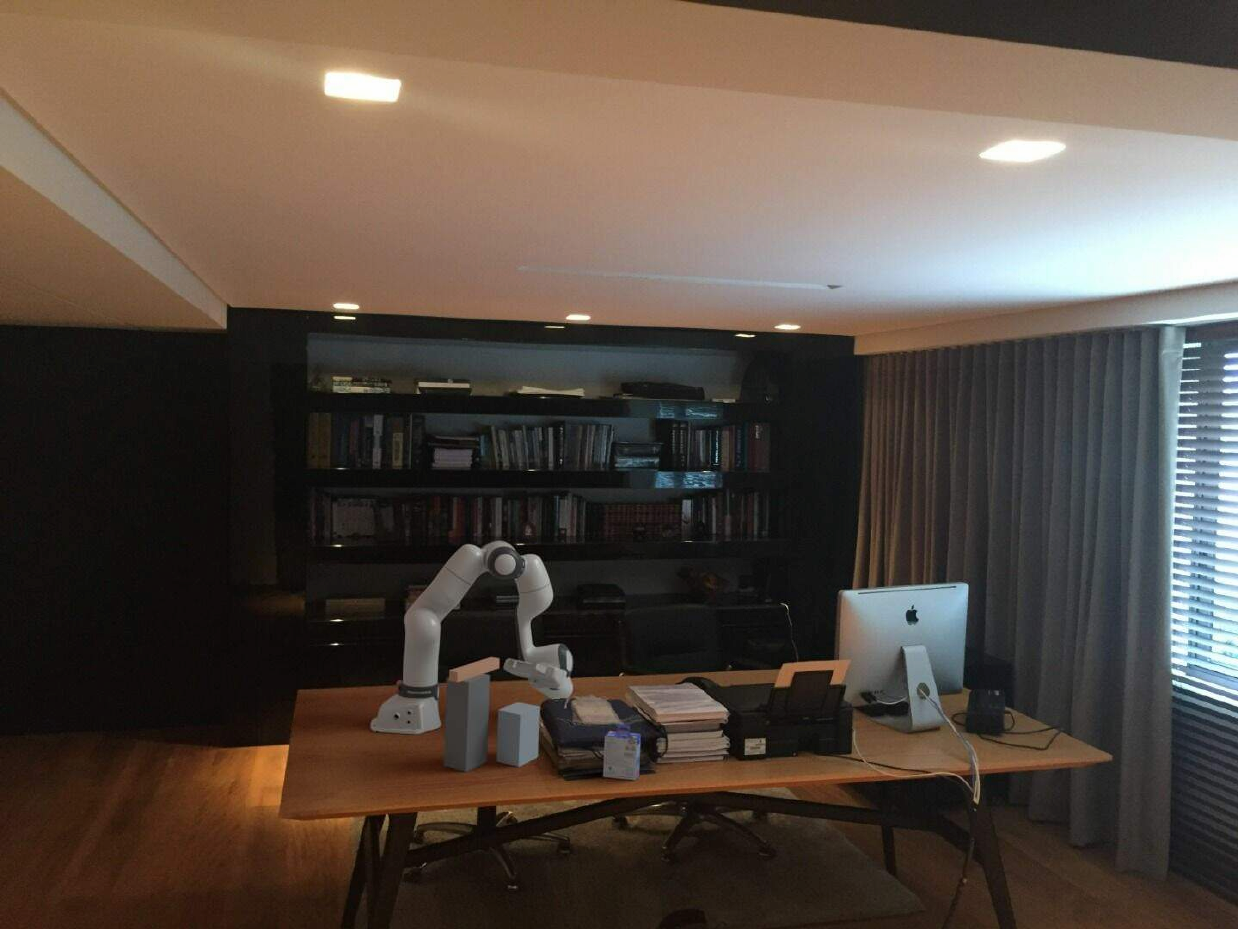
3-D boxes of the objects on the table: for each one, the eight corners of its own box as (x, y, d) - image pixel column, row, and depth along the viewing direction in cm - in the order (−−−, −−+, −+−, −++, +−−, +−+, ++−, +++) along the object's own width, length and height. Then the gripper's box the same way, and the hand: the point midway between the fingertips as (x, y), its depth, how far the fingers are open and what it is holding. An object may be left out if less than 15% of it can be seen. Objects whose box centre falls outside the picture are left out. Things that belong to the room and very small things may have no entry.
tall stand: (465, 756, 296) (468, 670, 295) (486, 762, 293) (489, 675, 291) (443, 766, 288) (446, 677, 286) (465, 772, 284) (468, 682, 283)
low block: (516, 752, 302) (517, 702, 301) (537, 757, 298) (539, 706, 297) (496, 761, 293) (498, 709, 293) (518, 767, 289) (520, 715, 289)
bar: (491, 666, 301) (491, 656, 301) (499, 668, 299) (499, 658, 299) (449, 680, 283) (449, 670, 283) (457, 682, 282) (457, 672, 282)
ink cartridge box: (639, 774, 288) (641, 725, 287) (636, 781, 282) (638, 731, 281) (606, 771, 289) (608, 722, 289) (602, 777, 284) (604, 728, 283)
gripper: (519, 662, 330) (498, 648, 319) (571, 672, 320) (551, 658, 309) (513, 680, 327) (492, 667, 316) (565, 691, 317) (545, 678, 306)
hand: (521, 663), depth 313 cm, fingers open, 8 cm apart
